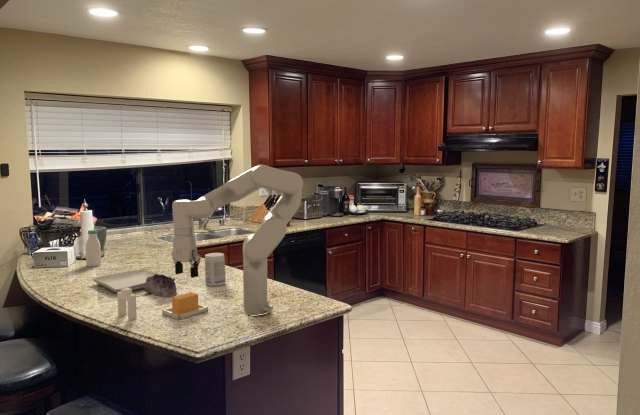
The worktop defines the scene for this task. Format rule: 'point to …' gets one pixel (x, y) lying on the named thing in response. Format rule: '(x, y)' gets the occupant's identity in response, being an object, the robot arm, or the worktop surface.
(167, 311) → the tray
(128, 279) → the square plate
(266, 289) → the robot arm
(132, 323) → the worktop surface
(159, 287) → the geode
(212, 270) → the supplement tub
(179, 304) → the orange block
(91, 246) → the milk bottle
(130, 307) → the beige blocky piece
